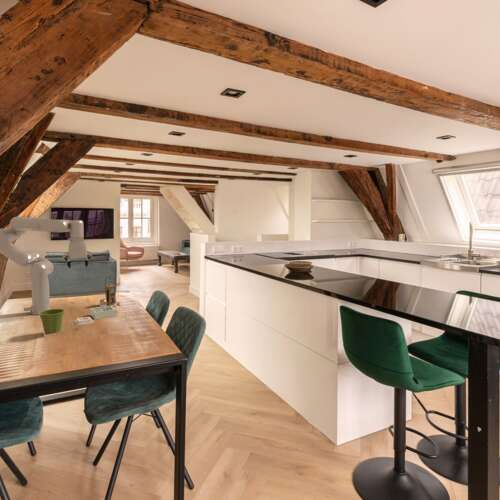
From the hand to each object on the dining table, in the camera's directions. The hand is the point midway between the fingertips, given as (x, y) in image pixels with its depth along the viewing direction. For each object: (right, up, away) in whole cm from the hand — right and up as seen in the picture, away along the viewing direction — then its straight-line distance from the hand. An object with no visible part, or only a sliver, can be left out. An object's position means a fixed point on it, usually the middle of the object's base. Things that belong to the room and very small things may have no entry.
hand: (77, 267), depth 227 cm
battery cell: (+21, -28, -11) cm, 37 cm away
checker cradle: (+15, -30, -24) cm, 42 cm away
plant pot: (+7, -32, -42) cm, 53 cm away
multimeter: (+16, -27, +20) cm, 38 cm away
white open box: (+20, -29, -11) cm, 37 cm away
